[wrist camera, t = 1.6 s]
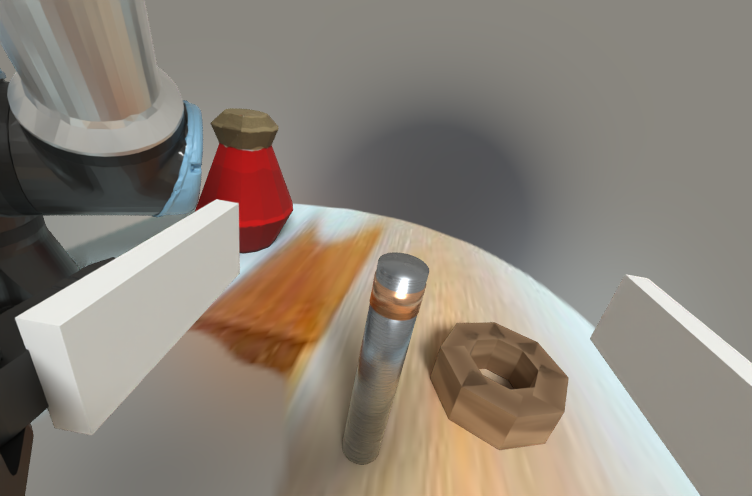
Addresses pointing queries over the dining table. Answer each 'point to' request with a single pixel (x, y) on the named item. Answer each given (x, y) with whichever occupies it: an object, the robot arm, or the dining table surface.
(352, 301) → the dining table surface
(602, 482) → the dining table surface
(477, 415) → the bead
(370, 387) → the copper-banded metal rod
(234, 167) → the bottle
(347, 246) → the dining table surface
